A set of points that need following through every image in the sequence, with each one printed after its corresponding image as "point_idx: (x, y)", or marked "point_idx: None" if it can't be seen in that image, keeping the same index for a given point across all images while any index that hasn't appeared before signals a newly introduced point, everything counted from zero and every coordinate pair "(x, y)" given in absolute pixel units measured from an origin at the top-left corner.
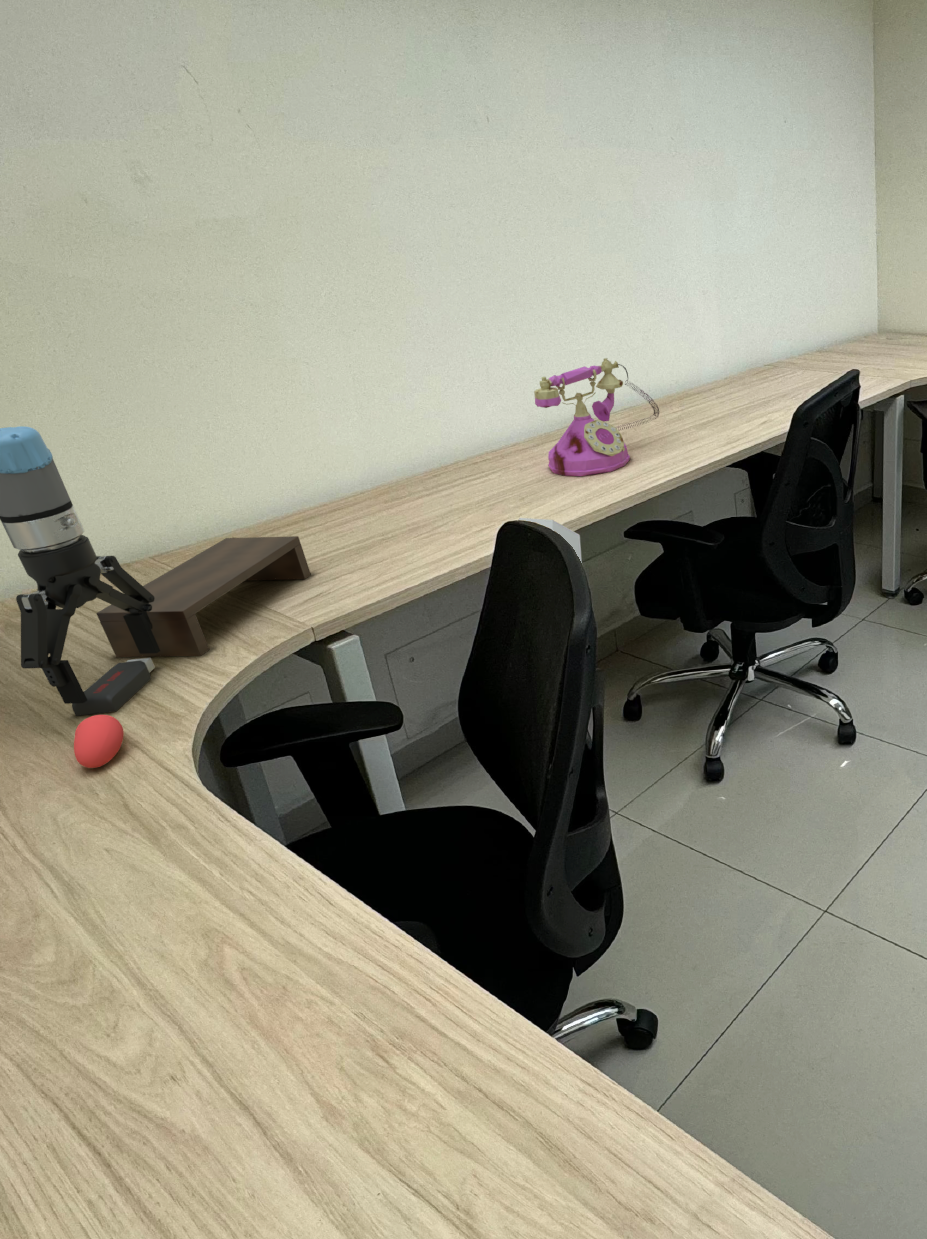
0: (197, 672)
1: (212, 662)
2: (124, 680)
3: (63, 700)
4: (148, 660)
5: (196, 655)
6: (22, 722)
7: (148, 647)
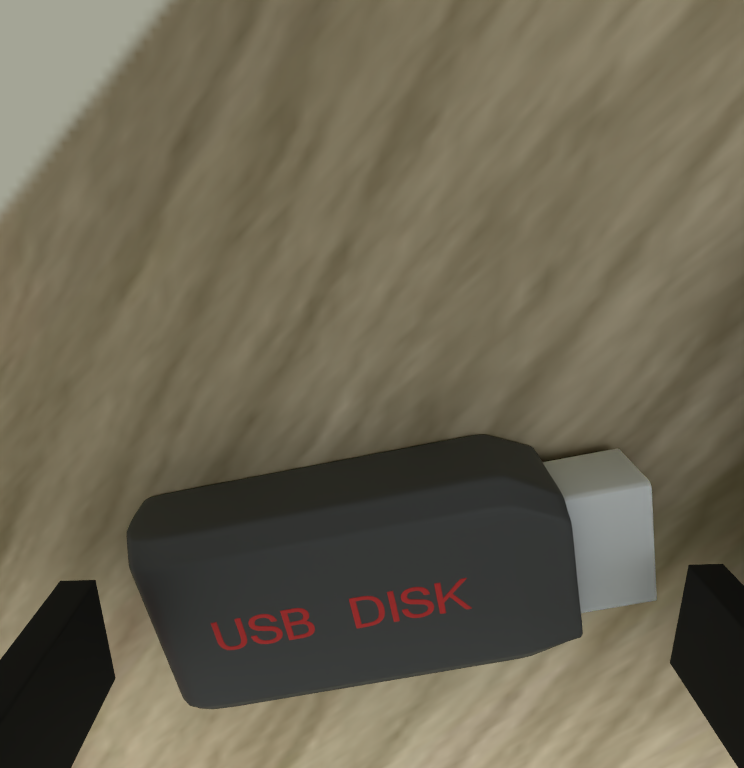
0: (553, 750)
1: (644, 755)
2: (358, 682)
3: (49, 598)
4: (628, 602)
5: None
6: (46, 226)
7: (701, 667)
